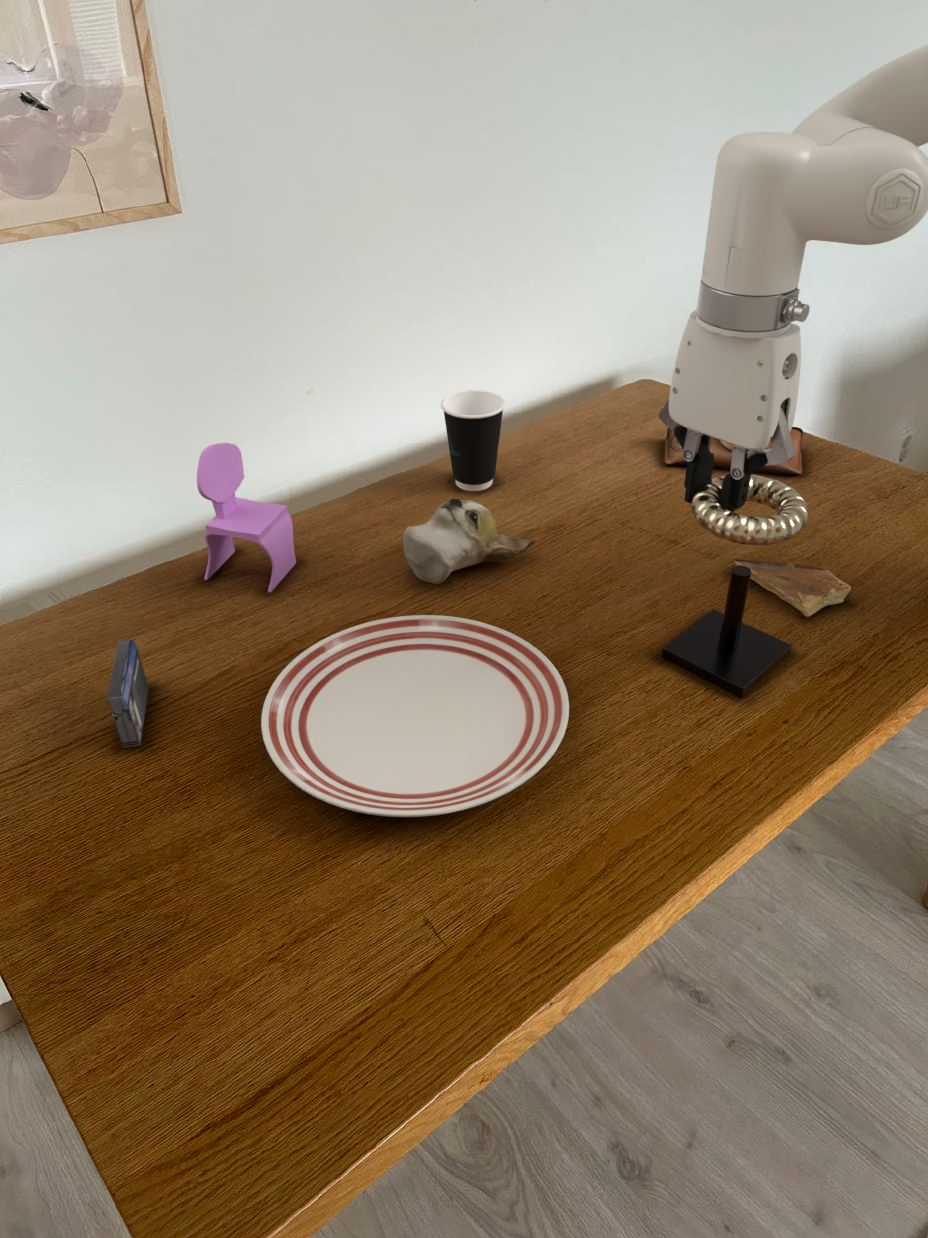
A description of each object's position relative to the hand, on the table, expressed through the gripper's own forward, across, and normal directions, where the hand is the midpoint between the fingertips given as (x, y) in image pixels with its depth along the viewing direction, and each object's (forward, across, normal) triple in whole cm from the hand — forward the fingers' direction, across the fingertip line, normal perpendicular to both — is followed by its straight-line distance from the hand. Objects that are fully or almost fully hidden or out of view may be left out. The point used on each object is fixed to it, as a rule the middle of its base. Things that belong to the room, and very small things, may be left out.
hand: (713, 502), depth 90 cm
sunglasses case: (+16, +18, -37) cm, 44 cm away
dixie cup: (+16, +39, -9) cm, 43 cm away
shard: (+16, -3, -14) cm, 22 cm away
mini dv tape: (+16, +31, +45) cm, 57 cm away
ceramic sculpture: (+16, +27, +6) cm, 32 cm away
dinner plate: (+16, +11, +28) cm, 34 cm away
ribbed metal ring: (-1, -4, 0) cm, 4 cm away
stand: (+16, -4, 0) cm, 16 cm away
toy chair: (+16, +43, +23) cm, 51 cm away
